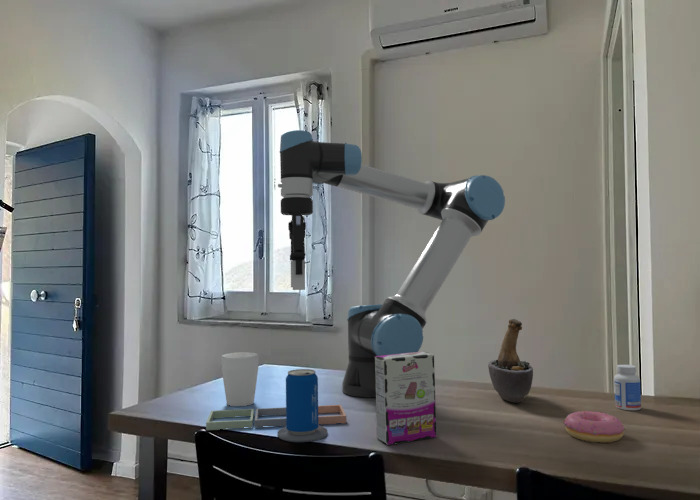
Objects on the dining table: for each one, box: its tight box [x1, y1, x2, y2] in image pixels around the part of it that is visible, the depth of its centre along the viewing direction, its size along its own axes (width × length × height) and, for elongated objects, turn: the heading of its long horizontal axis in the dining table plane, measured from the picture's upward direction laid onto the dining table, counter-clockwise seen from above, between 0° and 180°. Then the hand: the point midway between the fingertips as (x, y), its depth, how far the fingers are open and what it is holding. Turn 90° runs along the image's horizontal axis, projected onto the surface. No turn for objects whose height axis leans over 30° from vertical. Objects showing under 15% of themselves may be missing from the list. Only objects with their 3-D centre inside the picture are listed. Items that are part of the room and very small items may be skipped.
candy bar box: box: [375, 351, 437, 446], centre depth 110 cm, size 11×5×16 cm, turn 114°
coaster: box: [277, 425, 328, 443], centre depth 113 cm, size 10×10×1 cm
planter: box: [488, 318, 534, 404], centre depth 140 cm, size 15×17×20 cm
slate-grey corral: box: [254, 406, 286, 428], centre depth 123 cm, size 10×10×2 cm
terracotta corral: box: [318, 404, 347, 425], centre depth 125 cm, size 10×10×2 cm
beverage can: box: [285, 368, 319, 435], centre depth 113 cm, size 6×6×12 cm
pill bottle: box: [613, 364, 642, 411], centre depth 130 cm, size 6×5×10 cm
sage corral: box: [205, 408, 255, 431], centre depth 122 cm, size 10×10×2 cm
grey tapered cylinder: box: [221, 351, 259, 407], centre depth 139 cm, size 9×9×12 cm
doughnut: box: [563, 410, 626, 444], centre depth 110 cm, size 11×11×4 cm
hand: (297, 288), depth 131 cm, fingers open, 13 cm apart
